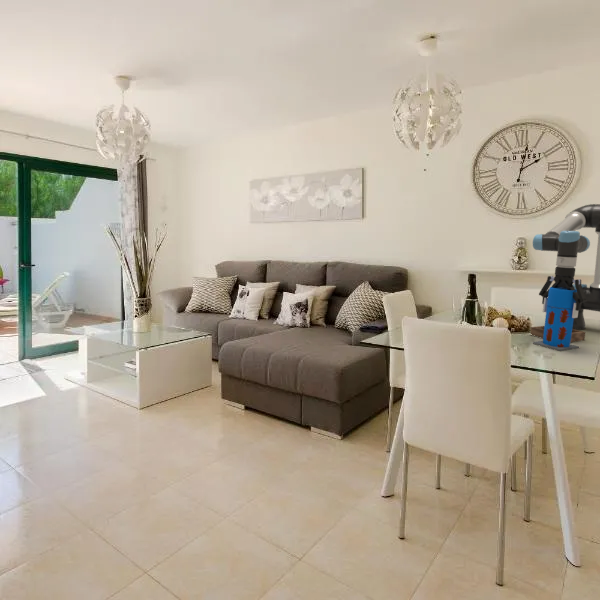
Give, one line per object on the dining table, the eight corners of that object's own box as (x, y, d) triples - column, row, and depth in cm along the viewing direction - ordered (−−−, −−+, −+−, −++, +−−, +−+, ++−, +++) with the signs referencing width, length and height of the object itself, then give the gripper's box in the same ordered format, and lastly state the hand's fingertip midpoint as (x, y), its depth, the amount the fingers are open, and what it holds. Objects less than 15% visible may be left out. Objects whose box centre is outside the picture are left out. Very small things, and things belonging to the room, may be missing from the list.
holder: (551, 332, 229) (552, 324, 229) (584, 340, 215) (585, 331, 214) (530, 335, 222) (531, 327, 221) (562, 343, 207) (563, 334, 207)
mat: (551, 341, 211) (551, 339, 211) (578, 348, 200) (579, 346, 200) (532, 343, 205) (533, 342, 205) (560, 351, 194) (560, 349, 194)
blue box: (573, 348, 196) (581, 291, 192) (546, 346, 198) (553, 289, 194) (564, 342, 206) (572, 287, 202) (539, 340, 209) (545, 286, 204)
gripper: (533, 264, 206) (528, 310, 209) (589, 269, 184) (582, 320, 187) (544, 264, 209) (539, 309, 213) (600, 269, 187) (593, 319, 191)
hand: (559, 314), depth 200 cm, fingers open, 13 cm apart
